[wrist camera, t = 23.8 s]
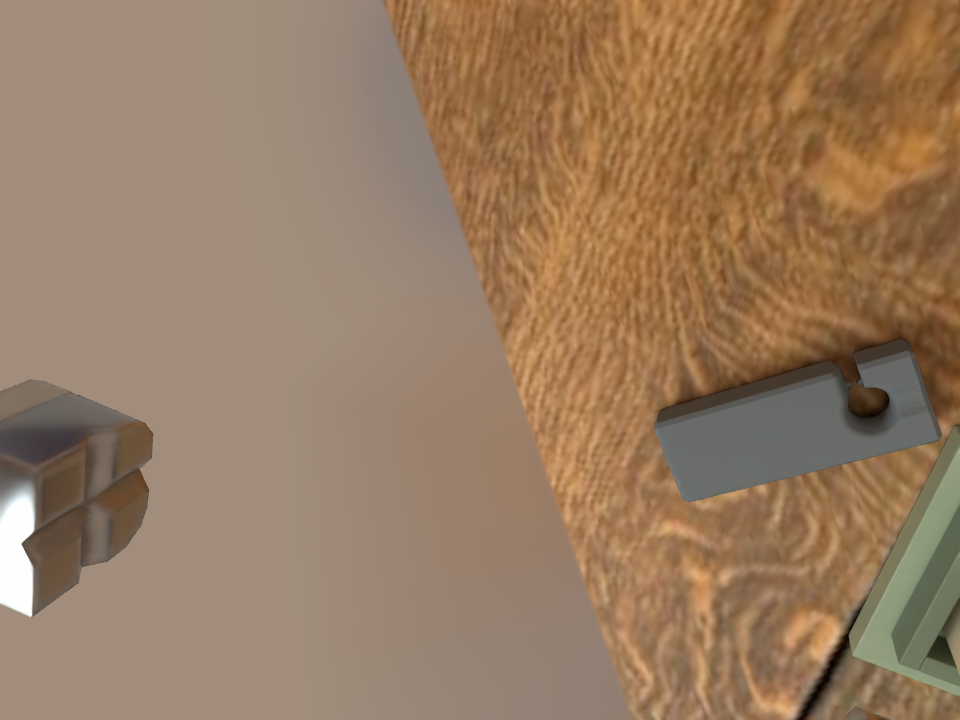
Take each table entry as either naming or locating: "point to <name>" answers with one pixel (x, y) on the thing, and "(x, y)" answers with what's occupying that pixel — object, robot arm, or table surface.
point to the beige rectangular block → (954, 633)
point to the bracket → (795, 424)
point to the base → (919, 585)
